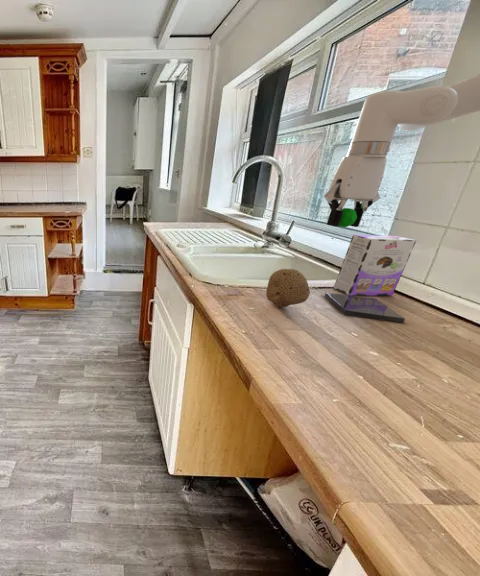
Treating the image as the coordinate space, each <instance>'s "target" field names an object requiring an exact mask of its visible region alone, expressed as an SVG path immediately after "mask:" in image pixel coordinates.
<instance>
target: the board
mask: <svg viewBox="0 0 480 576" xmlns="http://www.w3.org/2000/svg"><path fill="white" fill-rule="evenodd" d="M324 297H325V298H326V299H327V300H328V301H329V302H330V303H331V304H332V305H333V306H334V307H335V308H336V309H338V311H339V312H341V313H342V314H343V315H344V316H350V317H358V318H365V319H372V320H379V321H380V320H381V321H387V322H394V323H401V324H403V323H405V320H406V318H405V317H404V316H403V315H401V314H399V313H398V312H396V311H395V310H393V309H392V308H391V307H389V306H388V305H386V304H384V303H383V302H382V301H380V300H378V299H377V298H373V297H365V296H358V295H347V294H341V293H333V292H325V293H324Z"/></svg>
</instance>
